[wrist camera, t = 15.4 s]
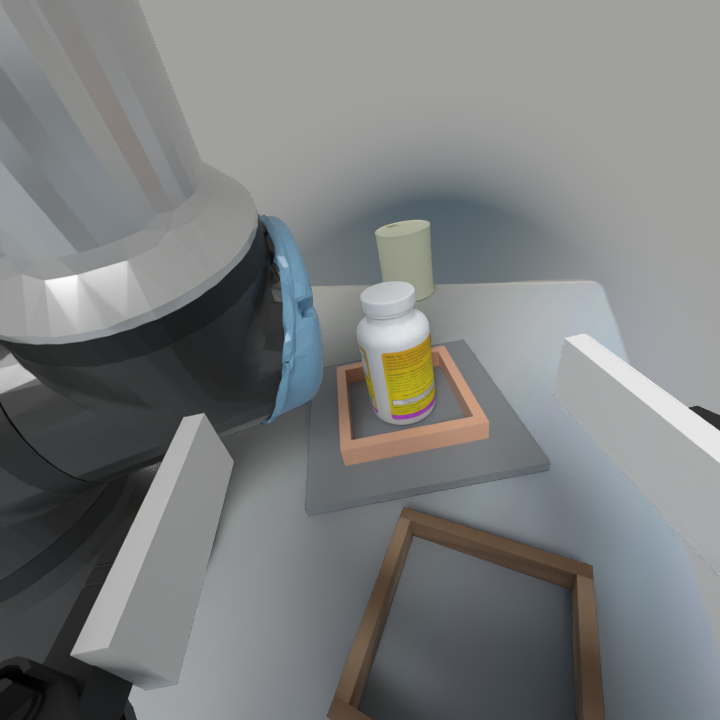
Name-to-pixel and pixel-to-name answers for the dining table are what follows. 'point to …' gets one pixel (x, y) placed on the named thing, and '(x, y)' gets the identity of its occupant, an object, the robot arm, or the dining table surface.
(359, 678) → the collar
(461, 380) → the collar
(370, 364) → the supplement bottle
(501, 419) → the mat
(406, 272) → the can
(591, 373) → the robot arm
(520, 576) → the dining table surface
